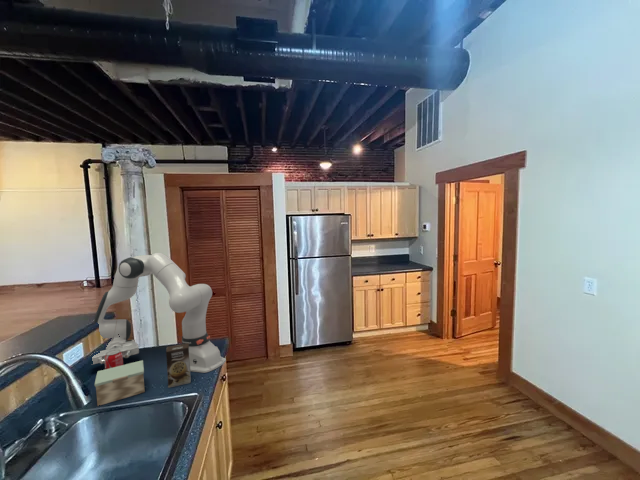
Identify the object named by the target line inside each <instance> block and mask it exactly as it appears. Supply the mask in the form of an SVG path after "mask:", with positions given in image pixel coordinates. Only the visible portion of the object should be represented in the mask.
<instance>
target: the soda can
mask: <svg viewBox="0 0 640 480" xmlns="http://www.w3.org/2000/svg"><path fill="white" fill-rule="evenodd" d="M104 362H105V363H104V370H105V369H109V368H113V367H117V366H121V365H124V357H123V356H122V353H121V352H120V350H112V351H109V352H107V353H106V356H105V358H104Z"/></svg>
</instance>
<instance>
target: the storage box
mask: <svg viewBox="0 0 640 480" xmlns="http://www.w3.org/2000/svg"><path fill="white" fill-rule="evenodd" d="M144 377H145V376H144V374H140V375H137V376H133V377H129V378H128V379H126V380H123V381H119V382H115V383H113V382H111V383H107V384H103V385H100V386H96V387H95V391H96V392H95V393H96V404H97V407H100V406H102V405H106V404H110V403H113V402H116V401H119V400H122V399H126V398H130V397H133V396H137V395H139V394H143V393H145V392H146V391H145V380H144ZM99 405H100V406H99Z"/></svg>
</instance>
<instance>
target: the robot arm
mask: <svg viewBox="0 0 640 480" xmlns="http://www.w3.org/2000/svg"><path fill="white" fill-rule="evenodd" d="M151 275H153V277H155V278H156V279H157V280H158V281H159V282H160V283H161V284H162V286H163V287H164V288H165V289H166V291H167V293H168V294H169V299H168V306H169V308H170V310H172V311H173V312H174V313H178V314H181V313H185V315H184V317H183V318H182V320H181V330H182V331H181V332H182V336H181V344H186V343H189V358H190V372H192V373H193V372H194V373H203V374H204V373H209V372H213V371H214V370H216V369H218V368H220V367H221V366H223V365H224V364H225V363H226V362H227V360H226V358H225V357H223V356H221V351H220V349H219V348H218V346H215V344H214V343H213V342H212V341H210V339H211V335H209V334H208V332H207V325H206V319H207V318H206V317H207V311H208V307H209V302H210V300H211V298H212V296H213V290H212V288H211V286H210V285H209V284H206V283H197V284H193V285H191V286H190V285H189V284H188V283H187V281H186V276H187V275H186V273H185V272H184V271H183V269H182V268H180V267H179V266H178V264H176V263H175V262H174V261H173V260H172V259H171V258H169V257H168V256H167V255H166V254H164V253H163V252H154V253H152V254H151V253H150V254H143V255H135V256H132V257H127V258H124V259H123V260H121V261H120V262H119V263H118V267H117V268H116V272H115V274H114V277H113V278H114V279H113V281H112V282H113V283H112V286H111V288H110V289H109V290H108V291H105V293H104V294H103V295H102V297H101V299H100V302H99V305H98V308H97V309H96V312H95V316H94V318H93V321H94V322H97V323H98V324H99V332H100V335H101V336H102V337H103V338H102V339H110V338H112V339H111V341H110V342H109V343H108V345H107V344H106V346H107V347H105V349H103V350H99V351H100V353H98V354H96V355H94V356H93V357H92V361H93V364H92V365H96V364H100V365H102V364H105V362H104V358H105V356H106V353H107V352H109V351H112V350H120V352H121V353H122V356H123V358H124V359H128V358H130V356H134V355H138V354H139V353H140V349H139V344H138V343H137V342H136V340H135V339H130V338H131V333H132V324H131V321H130V320H128V319H124V318H122V319H121V318H120V319H119V318H118V319H105V316H106V314H107V310H108V308H109V307H110V306H112V305H115V304H118V303H121V302H126V301H127V300H129V299H132V298H133V297H134V296H135V294H136V293H137V290H138V285H139V278H141V277H146V276H151ZM118 334H119V335H118ZM119 336H120V337H119Z"/></svg>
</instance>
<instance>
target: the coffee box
mask: <svg viewBox="0 0 640 480" xmlns="http://www.w3.org/2000/svg"><path fill="white" fill-rule="evenodd" d="M165 356H166V370H167V371H166V372H167V373H166V374H167V388H169V389H170V388H174V387H178V386H182V385H187V384H191V380H192V377H191V371H190V358H189V343H186V344H182V343H181V344H176V345H170V346H169V345H168V346H166V349H165Z"/></svg>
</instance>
